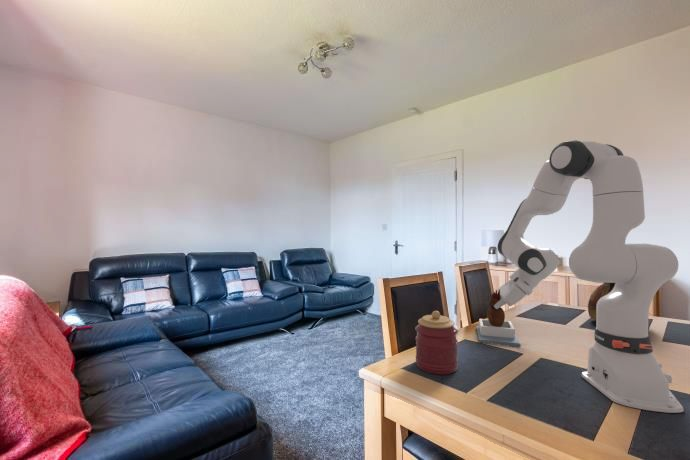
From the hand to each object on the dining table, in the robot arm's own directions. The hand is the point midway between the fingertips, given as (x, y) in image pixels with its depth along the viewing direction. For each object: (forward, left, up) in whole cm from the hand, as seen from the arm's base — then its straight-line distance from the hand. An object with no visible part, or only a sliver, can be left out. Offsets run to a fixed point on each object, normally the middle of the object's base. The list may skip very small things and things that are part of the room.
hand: (494, 305), depth 131 cm
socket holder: (-2, -1, -12) cm, 12 cm away
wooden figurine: (0, -1, -8) cm, 8 cm away
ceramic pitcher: (+30, -52, -12) cm, 61 cm away
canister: (-37, +20, -12) cm, 44 cm away
